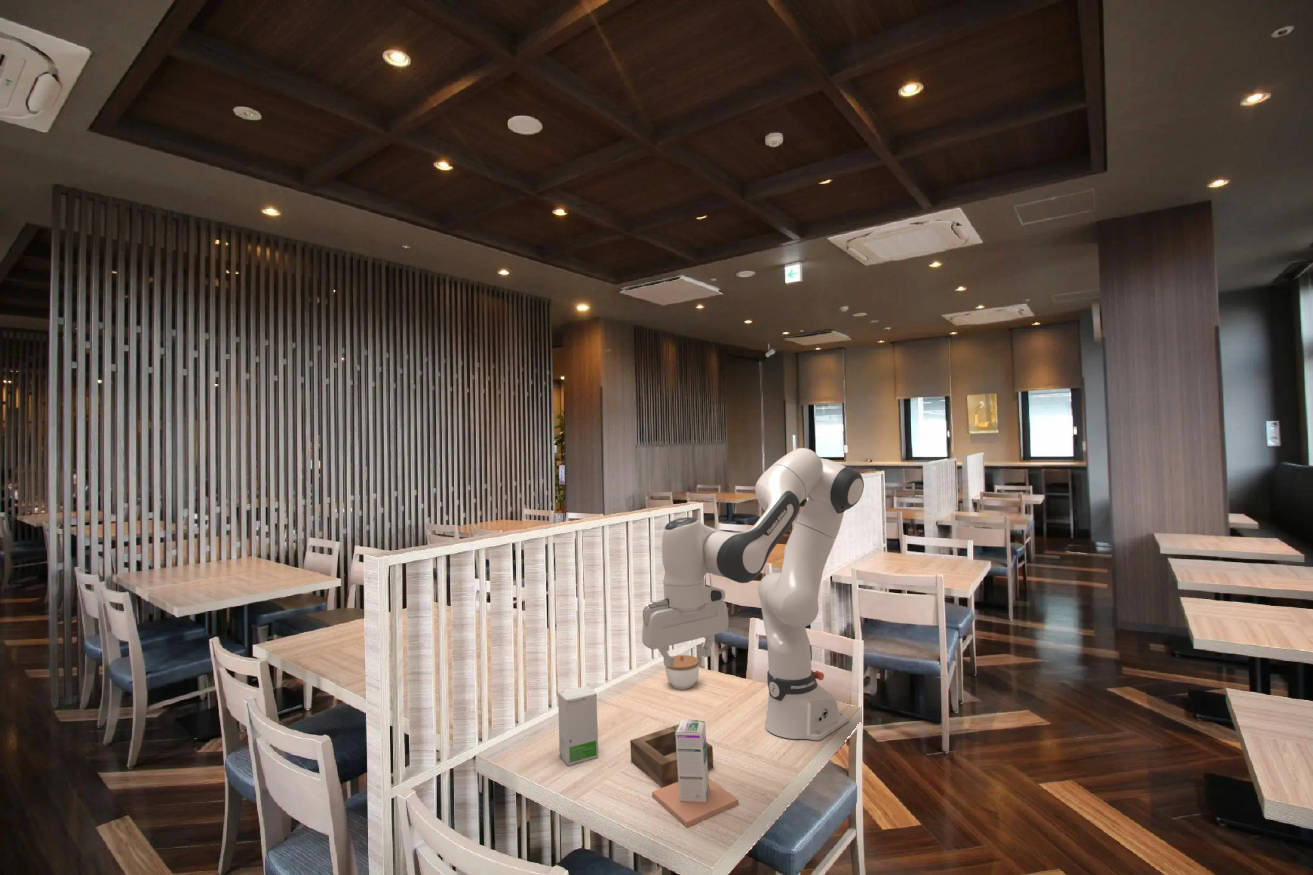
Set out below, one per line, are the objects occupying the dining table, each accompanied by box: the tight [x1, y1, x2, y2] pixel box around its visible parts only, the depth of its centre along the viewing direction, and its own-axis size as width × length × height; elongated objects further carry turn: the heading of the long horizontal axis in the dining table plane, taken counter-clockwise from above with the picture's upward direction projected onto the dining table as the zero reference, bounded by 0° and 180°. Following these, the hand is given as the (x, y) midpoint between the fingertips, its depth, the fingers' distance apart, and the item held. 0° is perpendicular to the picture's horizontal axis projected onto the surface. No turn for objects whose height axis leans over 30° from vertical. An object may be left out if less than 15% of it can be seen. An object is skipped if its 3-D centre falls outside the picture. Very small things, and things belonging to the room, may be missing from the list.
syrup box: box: [675, 719, 710, 803], centre depth 127 cm, size 6×6×14 cm
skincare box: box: [557, 685, 599, 766], centre depth 148 cm, size 8×7×16 cm
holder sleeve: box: [629, 723, 714, 788], centre depth 142 cm, size 14×14×5 cm
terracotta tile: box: [651, 778, 739, 828], centre depth 127 cm, size 13×13×1 cm
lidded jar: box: [664, 654, 700, 690], centre depth 189 cm, size 11×11×9 cm
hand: (687, 660), depth 128 cm, fingers open, 8 cm apart
